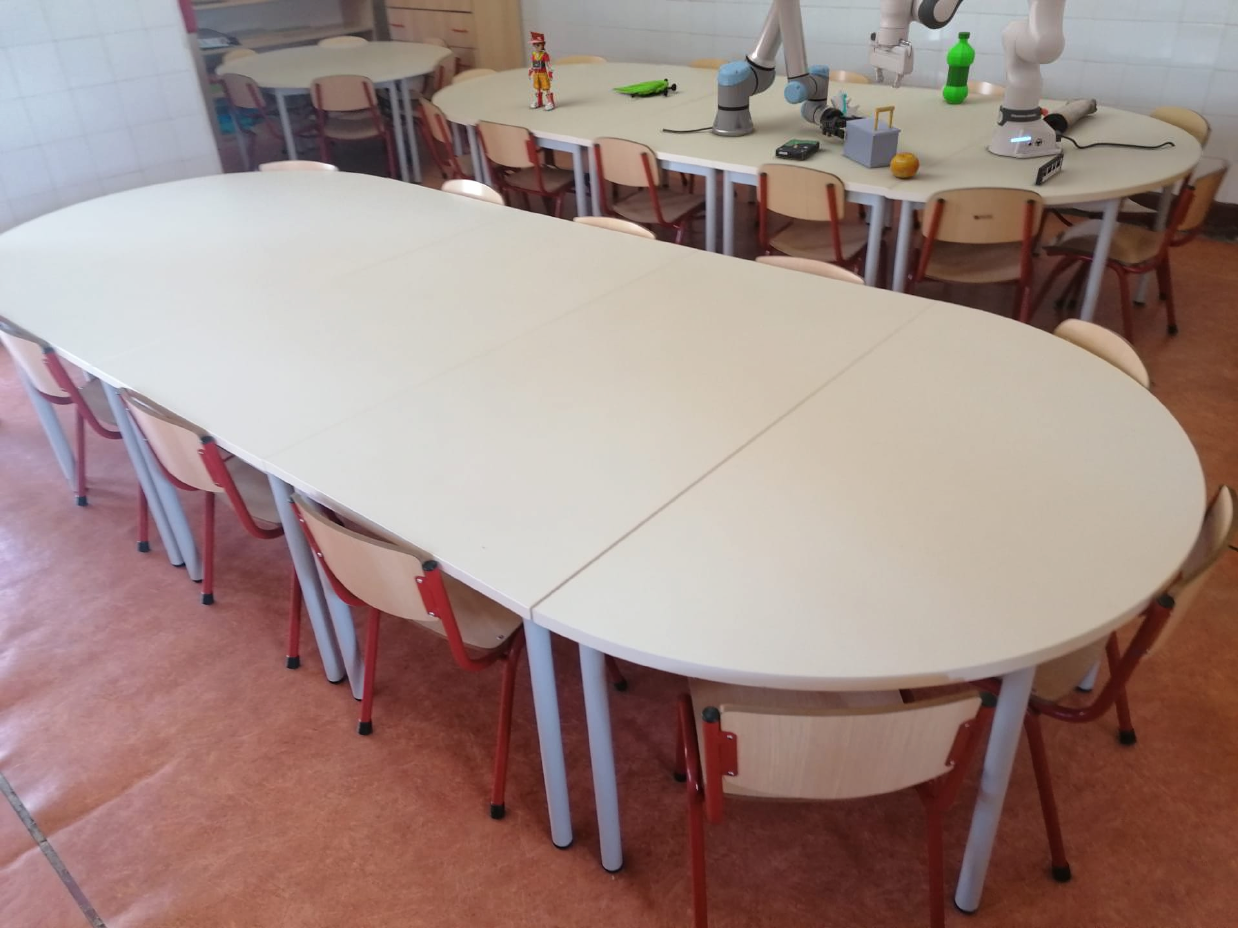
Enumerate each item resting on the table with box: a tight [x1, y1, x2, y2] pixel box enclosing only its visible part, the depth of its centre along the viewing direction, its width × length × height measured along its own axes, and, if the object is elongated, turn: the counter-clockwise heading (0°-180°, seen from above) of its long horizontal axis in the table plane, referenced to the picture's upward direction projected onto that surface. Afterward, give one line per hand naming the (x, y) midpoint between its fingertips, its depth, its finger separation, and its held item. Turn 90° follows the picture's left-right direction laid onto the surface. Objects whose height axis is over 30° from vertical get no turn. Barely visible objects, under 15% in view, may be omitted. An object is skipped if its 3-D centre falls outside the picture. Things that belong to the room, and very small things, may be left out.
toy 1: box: [527, 31, 556, 111], centre depth 374 cm, size 12×9×30 cm
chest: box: [843, 124, 900, 169], centre depth 297 cm, size 17×9×10 cm, turn 18°
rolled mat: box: [1042, 97, 1098, 135], centre depth 320 cm, size 30×9×10 cm
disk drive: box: [774, 138, 821, 161], centre depth 308 cm, size 10×3×15 cm
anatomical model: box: [830, 89, 865, 118], centre depth 343 cm, size 15×10×10 cm
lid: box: [847, 105, 902, 136], centre depth 291 cm, size 18×9×8 cm, turn 18°
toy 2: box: [612, 78, 677, 99], centre depth 396 cm, size 28×5×30 cm
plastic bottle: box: [942, 31, 976, 104], centre depth 348 cm, size 10×10×25 cm
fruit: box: [889, 152, 920, 179], centre depth 281 cm, size 8×8×8 cm
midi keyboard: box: [1035, 153, 1065, 186], centre depth 273 cm, size 18×1×5 cm, turn 138°
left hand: (861, 132), depth 302 cm, fingers open, 13 cm apart
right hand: (887, 85), depth 281 cm, fingers open, 8 cm apart
